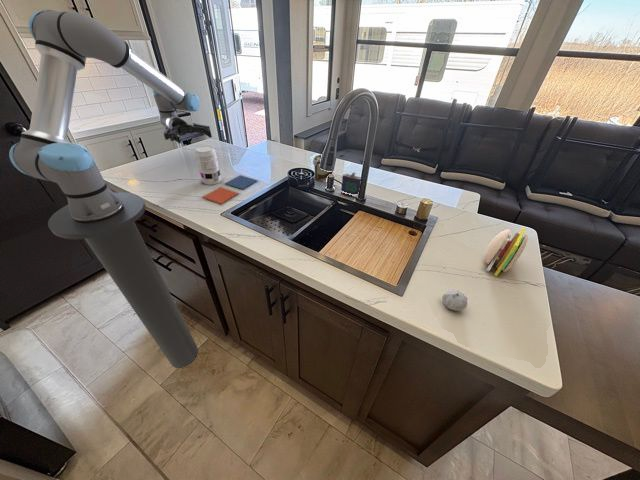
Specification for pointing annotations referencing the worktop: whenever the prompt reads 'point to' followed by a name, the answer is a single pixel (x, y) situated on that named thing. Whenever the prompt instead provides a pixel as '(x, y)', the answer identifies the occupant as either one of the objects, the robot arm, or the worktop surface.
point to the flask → (350, 184)
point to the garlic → (455, 300)
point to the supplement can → (208, 165)
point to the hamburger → (505, 250)
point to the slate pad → (241, 182)
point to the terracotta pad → (220, 195)
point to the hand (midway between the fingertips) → (195, 137)
